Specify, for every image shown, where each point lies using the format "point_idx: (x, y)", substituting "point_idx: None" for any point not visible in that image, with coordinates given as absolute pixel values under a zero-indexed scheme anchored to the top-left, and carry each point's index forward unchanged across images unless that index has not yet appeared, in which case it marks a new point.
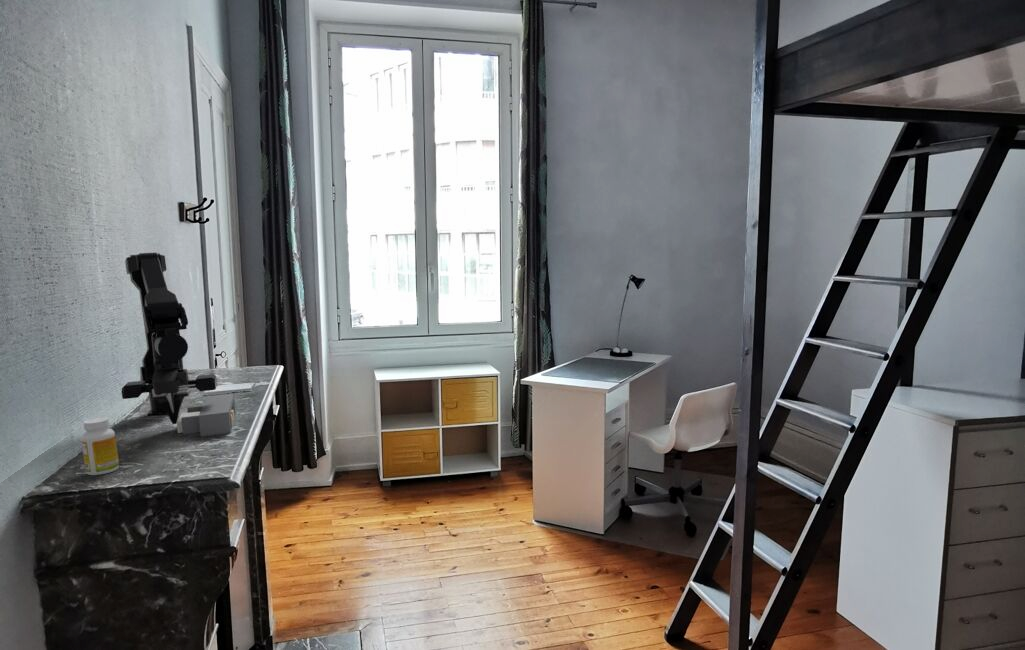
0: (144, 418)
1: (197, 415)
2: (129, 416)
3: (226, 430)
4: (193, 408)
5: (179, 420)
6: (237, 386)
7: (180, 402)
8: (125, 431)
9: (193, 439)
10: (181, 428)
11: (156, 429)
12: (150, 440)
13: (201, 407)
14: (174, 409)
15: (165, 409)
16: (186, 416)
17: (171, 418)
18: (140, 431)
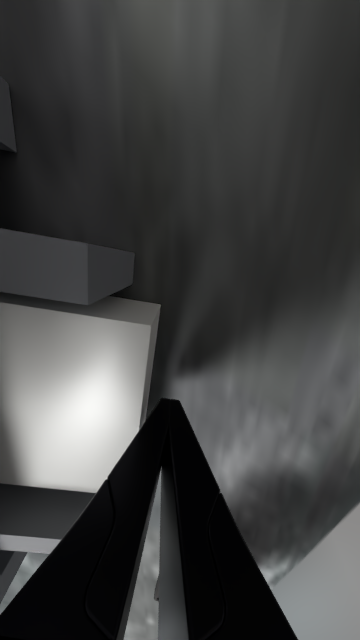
0: (250, 550)
1: (27, 414)
2: (279, 577)
3: None
4: (61, 525)
5: (132, 358)
6: None
7: (5, 625)
8: (338, 459)
9: (51, 20)
10: (135, 305)
11: (240, 424)
12: (304, 236)
13: (18, 522)
14: (145, 492)
15: (231, 516)
16: (96, 430)
17: (182, 424)
18: (296, 431)
